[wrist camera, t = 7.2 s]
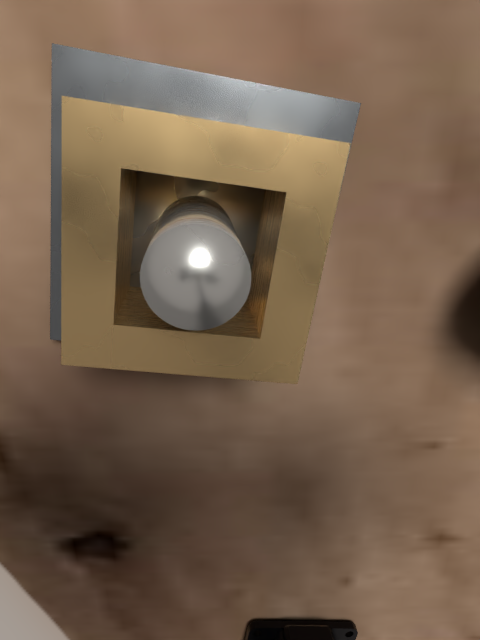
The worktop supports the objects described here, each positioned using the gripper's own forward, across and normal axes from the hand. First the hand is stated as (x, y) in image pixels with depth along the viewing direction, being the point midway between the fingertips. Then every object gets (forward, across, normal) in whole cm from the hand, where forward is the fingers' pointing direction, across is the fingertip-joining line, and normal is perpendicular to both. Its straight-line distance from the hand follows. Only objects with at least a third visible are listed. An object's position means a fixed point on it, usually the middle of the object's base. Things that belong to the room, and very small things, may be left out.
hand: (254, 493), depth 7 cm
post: (+12, +1, -2) cm, 12 cm away
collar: (+10, +1, -2) cm, 10 cm away
